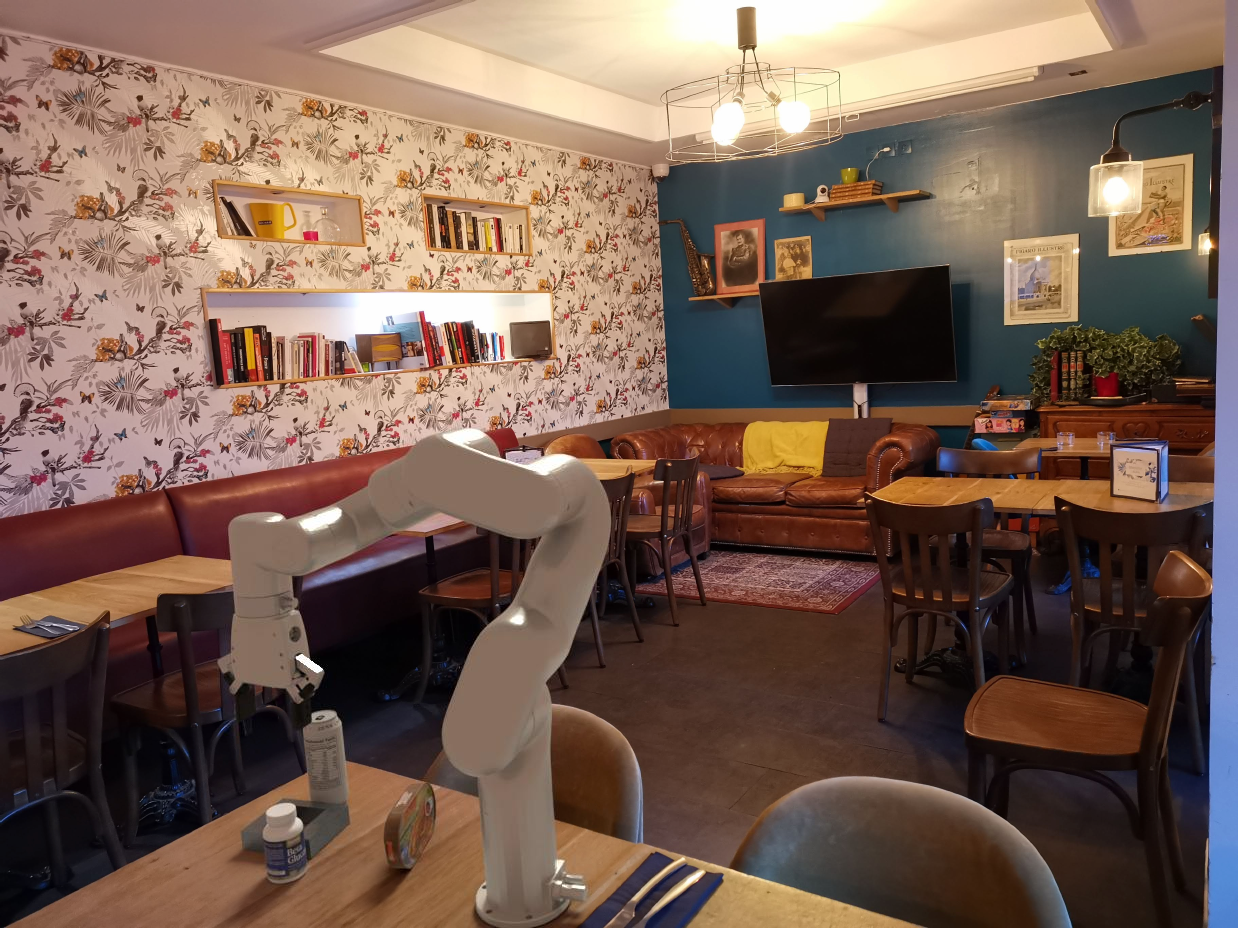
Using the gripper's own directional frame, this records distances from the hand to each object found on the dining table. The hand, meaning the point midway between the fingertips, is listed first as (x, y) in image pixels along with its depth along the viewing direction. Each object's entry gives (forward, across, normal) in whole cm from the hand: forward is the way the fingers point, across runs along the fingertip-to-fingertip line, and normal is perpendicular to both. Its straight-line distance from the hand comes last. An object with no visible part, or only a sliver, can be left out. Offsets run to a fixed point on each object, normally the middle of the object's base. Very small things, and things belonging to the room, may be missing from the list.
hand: (274, 721), depth 124 cm
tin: (+22, -15, -10) cm, 29 cm away
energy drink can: (+23, +7, -19) cm, 31 cm away
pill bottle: (+23, 0, 0) cm, 23 cm away
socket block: (+23, +5, -9) cm, 25 cm away
